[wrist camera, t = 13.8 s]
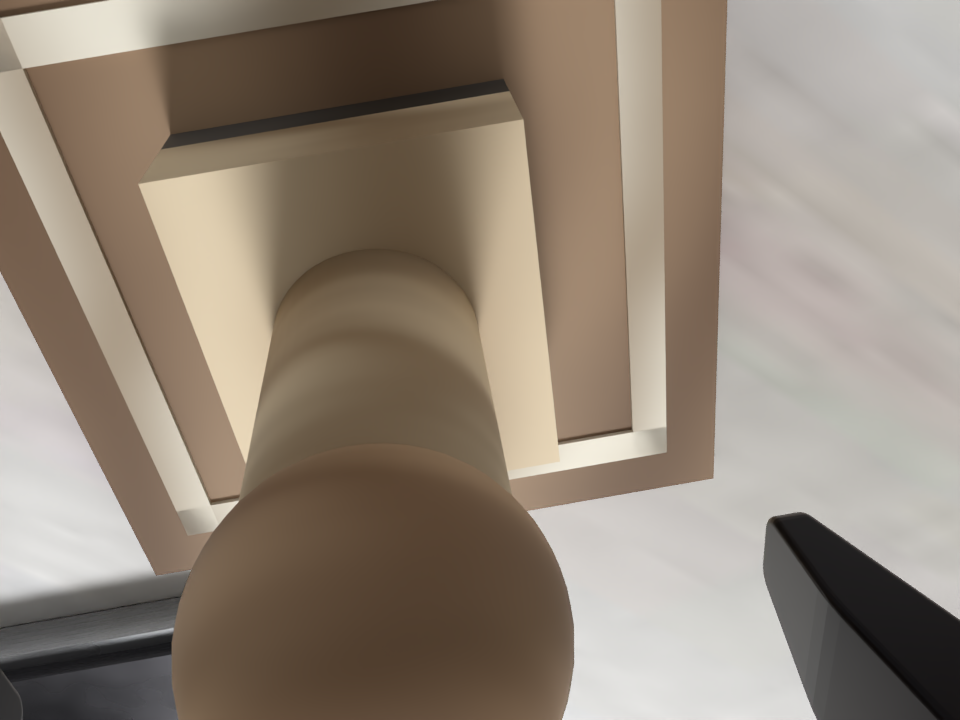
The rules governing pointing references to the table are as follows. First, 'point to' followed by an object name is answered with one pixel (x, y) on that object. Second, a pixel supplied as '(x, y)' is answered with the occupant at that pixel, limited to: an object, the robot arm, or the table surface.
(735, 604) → the table surface
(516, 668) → the wooden stamp
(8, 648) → the ink pad
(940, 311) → the table surface
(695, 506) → the table surface
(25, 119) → the marked board
